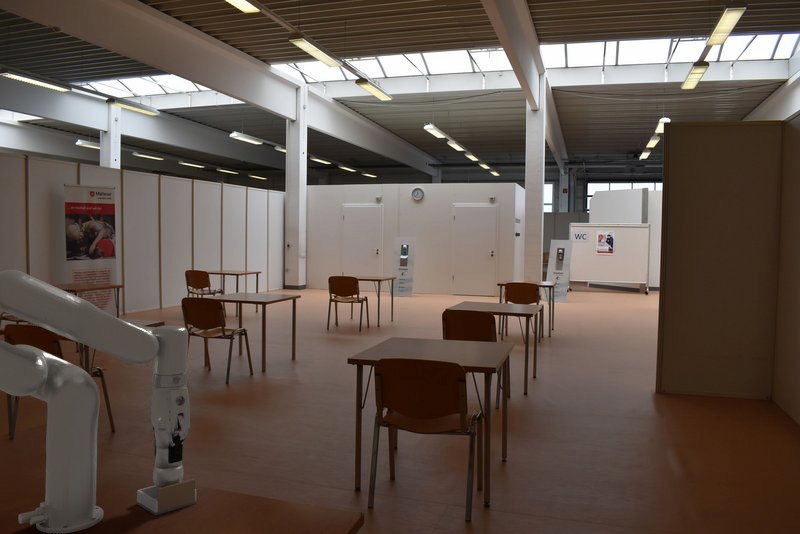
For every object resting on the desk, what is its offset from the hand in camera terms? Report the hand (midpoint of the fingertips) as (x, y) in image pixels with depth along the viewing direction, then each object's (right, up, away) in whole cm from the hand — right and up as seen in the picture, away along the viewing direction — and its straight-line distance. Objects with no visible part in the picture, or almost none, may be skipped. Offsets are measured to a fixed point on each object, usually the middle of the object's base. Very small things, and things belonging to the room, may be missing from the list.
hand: (168, 458), depth 142 cm
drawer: (0, -10, 0) cm, 10 cm away
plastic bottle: (0, -7, 0) cm, 7 cm away
